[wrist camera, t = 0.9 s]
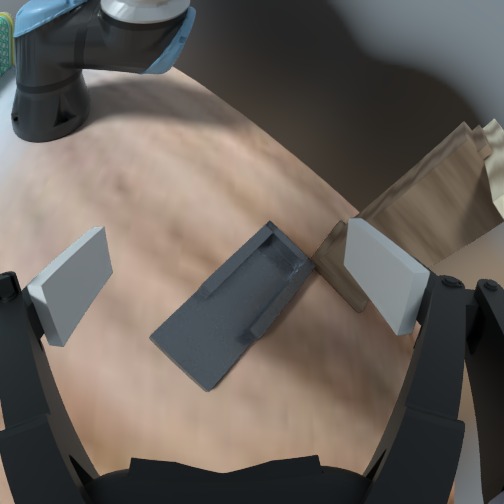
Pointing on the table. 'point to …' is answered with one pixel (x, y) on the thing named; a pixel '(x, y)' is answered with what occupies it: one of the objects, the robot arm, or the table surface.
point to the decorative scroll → (6, 42)
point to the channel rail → (233, 306)
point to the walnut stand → (423, 211)
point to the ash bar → (496, 163)
